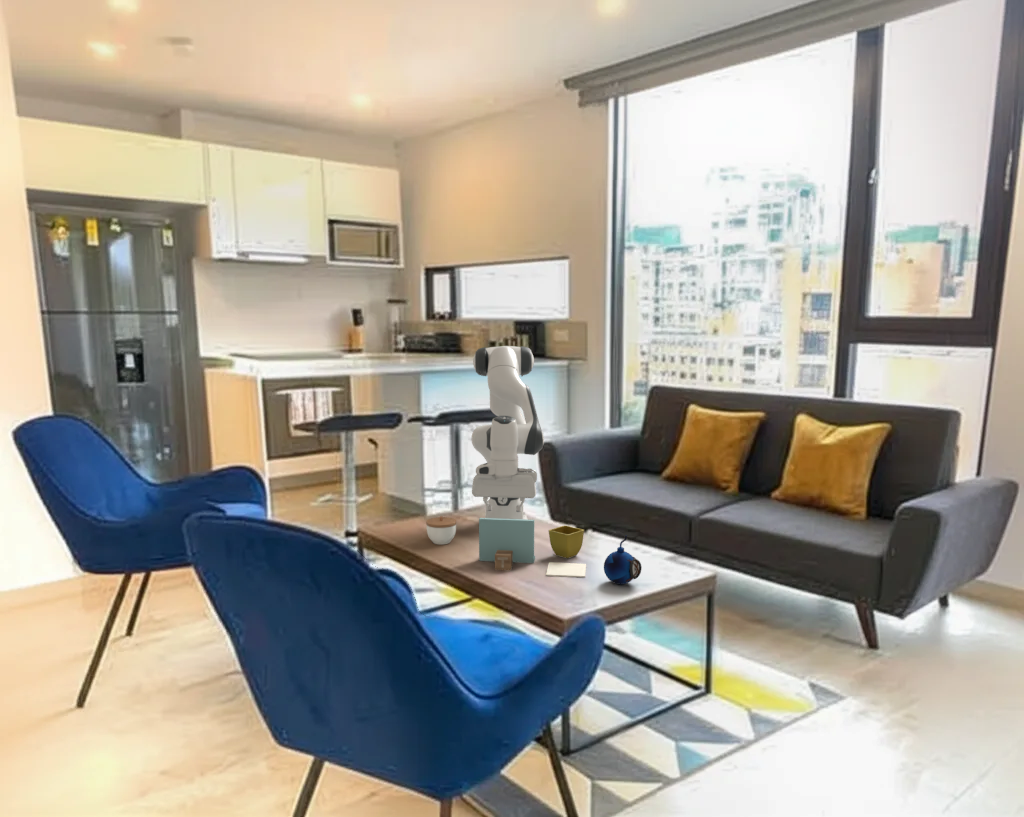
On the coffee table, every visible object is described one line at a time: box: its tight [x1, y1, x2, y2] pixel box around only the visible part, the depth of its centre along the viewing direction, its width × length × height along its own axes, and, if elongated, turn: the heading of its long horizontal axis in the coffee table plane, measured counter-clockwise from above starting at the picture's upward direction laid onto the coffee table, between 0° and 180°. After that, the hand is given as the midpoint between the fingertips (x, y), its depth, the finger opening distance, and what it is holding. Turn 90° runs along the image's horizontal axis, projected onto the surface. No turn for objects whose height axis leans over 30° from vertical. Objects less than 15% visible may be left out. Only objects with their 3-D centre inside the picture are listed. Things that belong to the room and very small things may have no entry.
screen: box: [478, 517, 536, 564], centre depth 241 cm, size 5×18×14 cm, turn 83°
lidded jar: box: [425, 515, 457, 545], centre depth 262 cm, size 11×11×9 cm
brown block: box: [494, 550, 514, 572], centre depth 234 cm, size 5×5×5 cm
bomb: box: [603, 535, 642, 585], centre depth 219 cm, size 10×11×15 cm
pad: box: [545, 561, 587, 578], centre depth 231 cm, size 12×12×1 cm
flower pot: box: [548, 524, 585, 559], centre depth 246 cm, size 9×9×9 cm
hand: (504, 511), depth 232 cm, fingers open, 8 cm apart
